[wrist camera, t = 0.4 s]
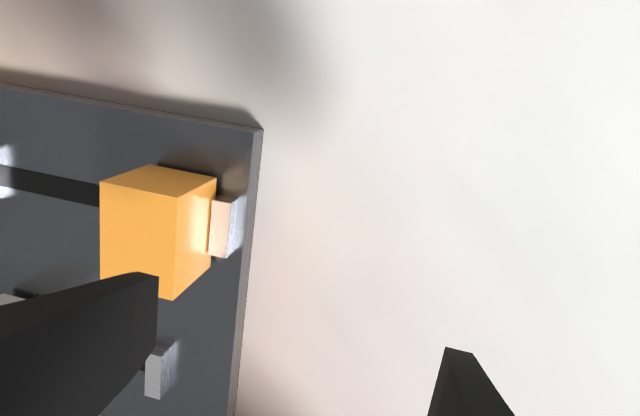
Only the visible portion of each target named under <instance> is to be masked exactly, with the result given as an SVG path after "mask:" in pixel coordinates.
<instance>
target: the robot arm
mask: <svg viewBox="0 0 640 416" xmlns="http://www.w3.org/2000/svg"><path fill="white" fill-rule="evenodd" d="M158 292H159V276H155V275H151V274H147V273H142V272H138V271H137V272H130V273H125V274H121V275H117V276H113V277H109V278H105V279H101V280H98V281H94V282H90V283H87V284H83V285H79V286H76V287H72V288H69V289H65V290H61V291H58V292H54V293H50V294H46V295H42V296H38V297H34V298H29V299H25V300H21V301H17V302H13V303H9V304H4V305H0V416H98V415H99V414H100V413H101V412H102V411H103V410H104V409H105V408H106V407H107V406H108V405H109V404H110V403H111V402H112V400H113V399H114V398H115V397H116V396H117V395H118V394H119V393H120V392H121V391H122V390H123V389H124V388H125V387H126V385H127V384H128V383H129V382H130V381H131V380H132V379H133V378H134V376H135V375H136V374H137V372H138V371H139V370H140V368H141V367H142V365H143V364H144V363H145V361H146V360H147V358H148V357H149V355H150V354H151V352H152V351H153V350H154V348H155V347H156V336H157V314H158ZM427 416H515V415H514V414H513V412H512V411H511V410H510V408H509V407H508V405H507V404H506V403H505V401H504V400H503V398H502V397H501V395H500V394H499V393H498V391H497V390H496V388H495V387H494V385H493V384H492V382H491V381H490V379H489V378H488V376H487V375H486V373H485V372H484V370H483V368H482V367H481V365H480V364H479V362H478V361H477V359H476V358H475V356H474V355H473V353H469V352H465V351H460V350H456V349H452V348H448V347H445V350H444V354H443V358H442V362H441V366H440V369H439V373H438V377H437V381H436V385H435V388H434V392H433V396H432V400H431V404H430V408H429V411H428V415H427Z"/></svg>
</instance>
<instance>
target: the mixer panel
mask: <svg viewBox="0 0 640 416" xmlns="http://www.w3.org/2000/svg"><path fill="white" fill-rule="evenodd" d="M263 131H264V129H259V128H253V127H247V126H242V125H236V124H230V123H225V122H219V121H214V120H208V119H202V118H197V117H191V116H185V115H180V114H174V113H169V112H163V111H157V110H152V109H146V108H140V107H135V106H129V105H124V104H118V103H112V102H107V101H101V100H95V99H90V98H84V97H79V96H73V95H67V94H62V93H56V92H50V91H45V90H39V89H33V88H28V87H22V86H17V85H11V84H5V83H0V294H2V293H4V294H8V295H12V296H16V297H20V298H23V299H29V298H34V297H38V296H42V295H46V294H50V293H54V292H58V291H61V290H65V289H69V288H72V287H76V286H79V285H83V284H87V283H90V282H94V281H98V280H100V181H103V180H105V179H108V178H111V177H114V176H117V175H120V174H123V173H126V172H129V171H131V170H134V169H137V168H140V167H143V166H146V165H149V164H151V165H156V166H161V167H166V168H171V169H176V170H181V171H186V172H191V173H196V174H201V175H206V176H211V177H216V178H217V181H216V195H215V198H214V199H212V205H211V219H210V233H209V247H208V255H211V263H210V267H209V268H208V269H207V270H206V271H205V272H204V273H203V274H202V275H201V276H200V277H198V278H197V279H196V280H195V281H194V282H193V283H192V284H191V285H190V286H189V287H187V288H186V289H185V290H184V291H183V292H182V293H181V294H180V295H179V296H178V297H176V298H175V299H174V300H173V301H171V300H167V299H163V298H159V297H158V314H157V336H156V347H155V348H154V350H153V351H152V352H151V354H150V355H149V357H148V358H147V360H146V361H145V363H144V364H143V365H142V367H141V368H140V370H139V371H138V372H137V374H136V375H135V376H134V378H133V379H132V380H131V381H130V382H129V383H128V384H127V385H126V387H125V388H124V389H123V390H122V391H121V392H120V393H119V394H118V395H117V396H116V397H115V398H114V399H113V400H112V402H111V403H110V404H109V405H108V406H107V407H106V408H105V409H104V410H103V411H102V412H101V413H100V414H99V415H102V416H234V415H235V405H236V395H237V386H238V376H239V366H240V356H241V346H242V337H243V327H244V317H245V307H246V297H247V288H248V278H249V268H250V258H251V248H252V238H253V229H254V219H255V209H256V199H257V189H258V180H259V170H260V160H261V150H262V140H263Z"/></svg>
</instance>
